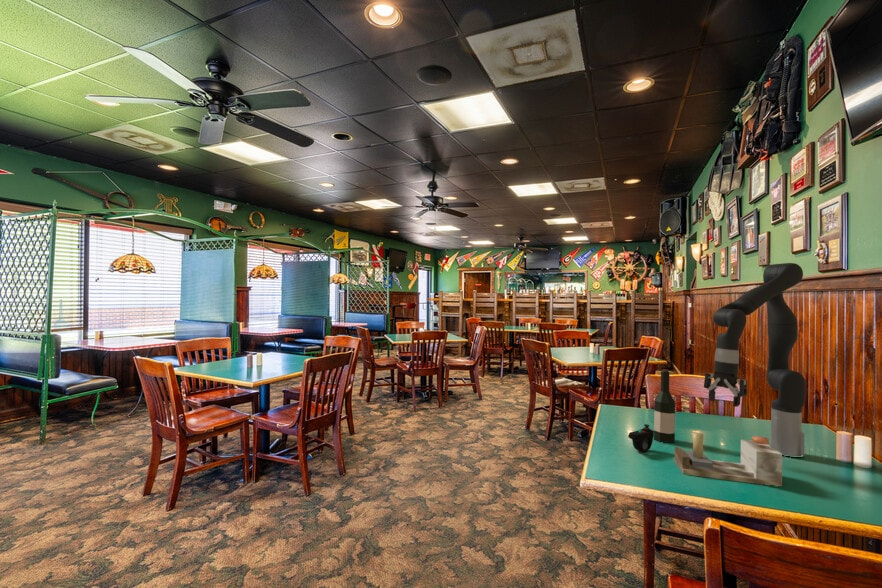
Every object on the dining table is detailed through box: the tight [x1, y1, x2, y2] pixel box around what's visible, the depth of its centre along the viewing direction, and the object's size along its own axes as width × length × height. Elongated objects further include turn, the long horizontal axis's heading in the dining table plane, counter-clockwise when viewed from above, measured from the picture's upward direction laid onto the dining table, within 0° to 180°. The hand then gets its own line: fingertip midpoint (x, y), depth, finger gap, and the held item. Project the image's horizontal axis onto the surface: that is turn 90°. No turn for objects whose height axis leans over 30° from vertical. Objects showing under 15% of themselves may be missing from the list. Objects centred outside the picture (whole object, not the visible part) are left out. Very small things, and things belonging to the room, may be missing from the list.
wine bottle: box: [653, 368, 676, 444], centre depth 171 cm, size 8×8×30 cm
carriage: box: [683, 432, 713, 468], centre depth 141 cm, size 6×10×10 cm, turn 163°
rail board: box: [673, 439, 783, 487], centre depth 139 cm, size 28×12×10 cm, turn 73°
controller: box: [627, 423, 654, 453], centre depth 157 cm, size 4×12×10 cm, turn 121°
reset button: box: [751, 435, 770, 445], centre depth 136 cm, size 4×4×1 cm
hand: (723, 403), depth 153 cm, fingers open, 8 cm apart
